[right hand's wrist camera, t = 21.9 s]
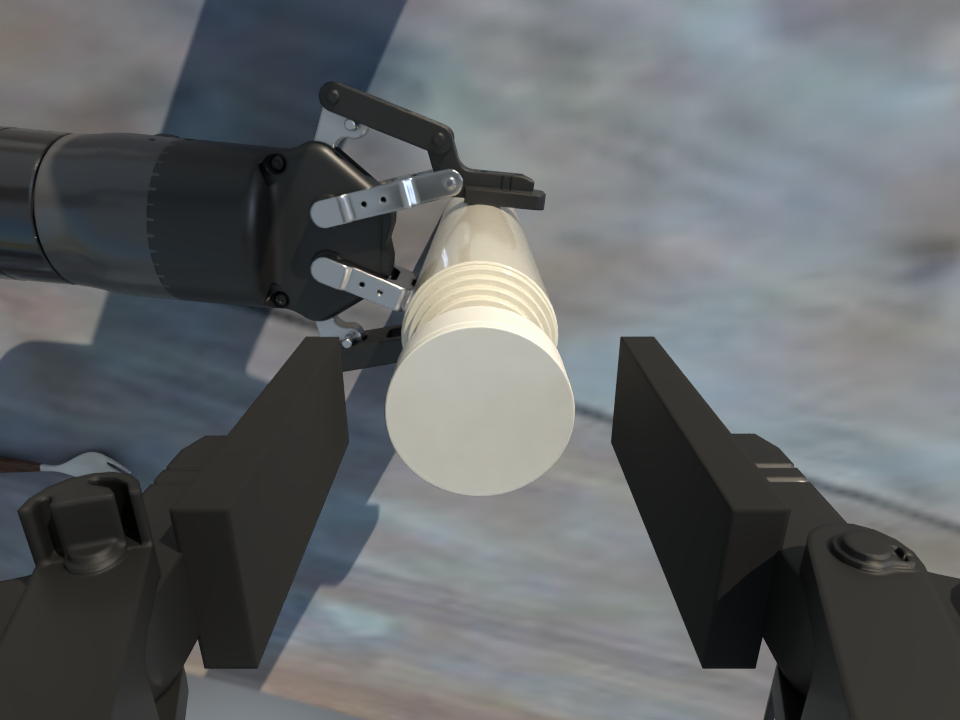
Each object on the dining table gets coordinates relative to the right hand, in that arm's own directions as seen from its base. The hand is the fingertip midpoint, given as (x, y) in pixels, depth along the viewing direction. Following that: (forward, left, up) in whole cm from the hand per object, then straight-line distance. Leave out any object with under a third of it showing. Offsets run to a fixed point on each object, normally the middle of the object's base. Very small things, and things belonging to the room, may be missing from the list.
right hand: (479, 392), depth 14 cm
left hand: (-1, -3, -17) cm, 17 cm away
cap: (0, 0, +1) cm, 1 cm away
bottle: (0, 0, -23) cm, 23 cm away
